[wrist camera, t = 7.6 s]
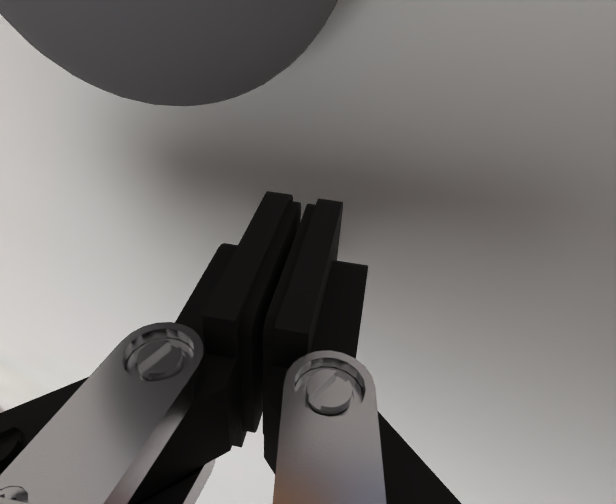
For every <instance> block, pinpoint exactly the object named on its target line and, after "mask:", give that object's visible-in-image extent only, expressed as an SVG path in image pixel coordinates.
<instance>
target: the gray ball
mask: <svg viewBox="0 0 616 504" xmlns="http://www.w3.org/2000/svg"><path fill="white" fill-rule="evenodd" d="M336 2H337V0H0V14H1V15H2V16H3V17H4V18H5V19H6V20H7V21H8V22H9V23H10V24H11V25H12V26H13V27H14V28H15V29H16V30H17V31H18V32H19V33H20V34H21V35H22V36H23V37H24V38H25V39H26V40H27V41H28V42H29V43H30V44H31V45H32V46H34V47H35V48H36V49H37V50H38V51H40V52H41V53H42V54H43V55H44V56H46V57H47V58H49V59H50V60H52V61H53V62H55V63H56V64H58V65H59V66H61V67H62V68H63V69H65V70H66V71H68V72H69V73H71V74H72V75H74V76H76V77H78V78H80V79H81V80H83V81H85V82H87V83H89V84H91V85H94V86H96V87H98V88H100V89H102V90H105V91H107V92H110V93H113V94H115V95H118V96H121V97H124V98H128V99H132V100H136V101H141V102H145V103H150V104H154V105H172V106H194V105H203V104H209V103H215V102H220V101H224V100H227V99H230V98H234V97H237V96H239V95H242V94H244V93H247V92H249V91H251V90H253V89H255V88H257V87H259V86H261V85H263V84H265V83H266V82H268V81H269V80H270V79H272V78H273V77H275V76H276V75H277V74H279V73H280V72H281V71H283V70H284V69H286V68H287V67H288V66H290V65H291V64H292V63H293V62H294V61H295V60H296V59H297V58H298V57H299V56H300V55H301V54H302V53H303V52H304V51H305V50H306V48H307V47H308V46H309V44H310V43H311V42H312V41H313V39H314V38H315V37H316V35H317V34H318V33H319V31H320V30H321V29H322V27H323V26H324V24H325V23H326V21H327V19H328V17H329V16H330V14H331V12H332V10H333V9H334V7H335V5H336Z"/></svg>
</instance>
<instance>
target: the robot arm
mask: <svg viewBox="0 0 616 504" xmlns="http://www.w3.org/2000/svg"><path fill="white" fill-rule="evenodd" d="M342 209H343V202H339V201H332V200H325V199H318V200H317V202H316V205H313V204H307V206H306V209H305V211H304V214H303V217H302V220H301V222H300V217H301V203H299V202H293V196H292V195H289V194H282V193H275V192H266V194H265V195H264V197H263V199H262V201H261V203H260V205H259V207H258V209H257V211H256V212H255V214H254V216H253V218H252V220H251V222H250V224H249V226H248V228H247V229H246V231H245V233H244V235H243V237H242V239H241V241H240V243H239V245H232V244H226V243H224V244H221V245H220V247H219V248H218V250H217V251H216V253H215V255H214V257H213V258H212V260H211V262H210V263H209V265H208V267H207V269H206V270H205V272H204V274H203V275H202V277H201V279H200V281H199V282H198V284H197V286H196V288H195V289H194V291H193V293H192V294H191V296H190V298H189V300H188V301H187V303H186V305H185V306H184V308H183V310H182V312H181V313H180V315H179V317H178V318H177V320H176V322H175V323H172V322H165V323H155V324H151V325H147V326H144V327H142V328H140V329H138V330H136V331H134V332H132V333H131V334H129V335H128V336H127V337H126V338H125V339H124V340H122V341H121V342H120V343H119V345H118V346H117V347H116V348H115V349H114V350H113V351H112V352H111V353H110V355H109V356H108V357H107V358H106V359H105V360H104V361H103V362H102V363H101V364H100V366H99V367H98V368H97V369H96V370H95V371H94V372H93V373H92V374H91V375H90V377H87V378H85V379H83V380H80V381H78V382H75V383H73V384H70V385H68V386H65V387H63V388H61V389H58V390H56V391H53V392H51V393H48V394H46V395H43V396H41V397H39V398H36V399H34V400H31V401H29V402H26V403H24V404H22V405H19V406H17V407H14V408H12V409H9V410H7V411H4V412H2V413H0V504H195V503H196V501H197V499H198V497H199V495H200V493H201V491H202V489H203V488H204V486H205V484H206V482H207V480H208V478H209V476H210V474H211V472H212V470H213V467H214V464H215V459H216V458H217V457H219V456H221V455H223V454H225V453H226V452H228V451H230V450H231V447H232V445H233V446H238V447H242V445H243V442H244V439H245V436H246V432H247V431H249V432H254V433H255V432H256V430H257V428H258V425H259V422H260V419H261V415H262V412H263V434H264V458H265V460H266V461H267V463H268V464H269V466H270V467H271V469H272V470H273V472H274V474H275V484H274V495H273V504H461V503H460V502H459V501H458V499H457V498H456V497H455V496H454V495H453V494H452V493H451V492H450V491H449V489H448V488H447V487H446V486H445V485H444V484H443V483H442V482H441V481H440V479H439V478H438V477H437V476H436V475H435V474H434V473H433V472H432V471H431V469H430V468H429V467H428V466H427V465H426V464H425V463H424V462H423V461H422V460H421V458H420V457H419V456H418V455H417V454H416V453H415V452H414V451H413V450H412V448H411V447H410V446H409V445H408V444H407V443H406V442H405V441H404V440H403V438H402V437H401V436H400V435H399V434H398V433H397V432H396V431H395V430H394V428H393V427H392V426H391V425H390V424H389V423H388V422H387V421H386V420H385V419H384V417H383V416H382V415H381V414H380V413H379V412H378V411H377V400H376V390H375V385H374V382H373V378H372V376H371V374H370V373H369V371H368V370H367V369H366V367H365V366H364V365H363V364H361V363H360V362H359V361H358V360H356V352H357V345H358V338H359V330H360V323H361V316H362V308H363V301H364V294H365V286H366V279H367V272H368V266H367V265H361V264H354V263H348V262H342V261H337V254H338V245H339V236H340V227H341V218H342Z"/></svg>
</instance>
